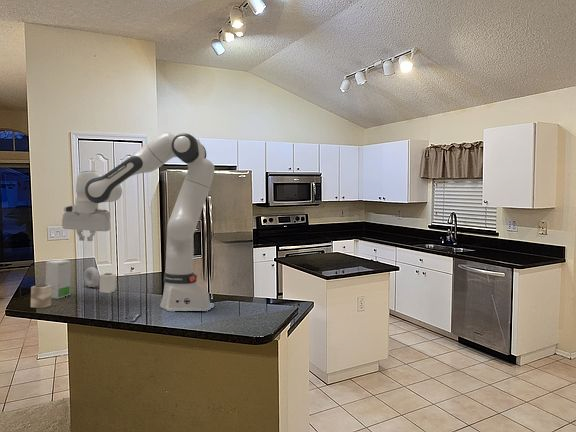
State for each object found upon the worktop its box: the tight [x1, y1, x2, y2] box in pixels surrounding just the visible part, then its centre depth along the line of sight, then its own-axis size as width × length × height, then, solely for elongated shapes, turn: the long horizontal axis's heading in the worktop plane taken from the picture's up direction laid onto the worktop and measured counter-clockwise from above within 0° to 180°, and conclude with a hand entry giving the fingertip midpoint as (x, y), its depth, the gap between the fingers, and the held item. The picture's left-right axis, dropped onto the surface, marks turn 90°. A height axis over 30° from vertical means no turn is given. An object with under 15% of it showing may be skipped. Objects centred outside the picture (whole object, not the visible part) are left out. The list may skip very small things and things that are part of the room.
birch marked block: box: [30, 284, 52, 309], centre depth 167 cm, size 5×5×8 cm
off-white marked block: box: [99, 272, 117, 294], centre depth 197 cm, size 5×5×8 cm
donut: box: [83, 266, 101, 288], centre depth 204 cm, size 10×3×10 cm, turn 59°
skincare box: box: [45, 259, 72, 300], centre depth 183 cm, size 8×7×16 cm
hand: (85, 240), depth 181 cm, fingers open, 2 cm apart
